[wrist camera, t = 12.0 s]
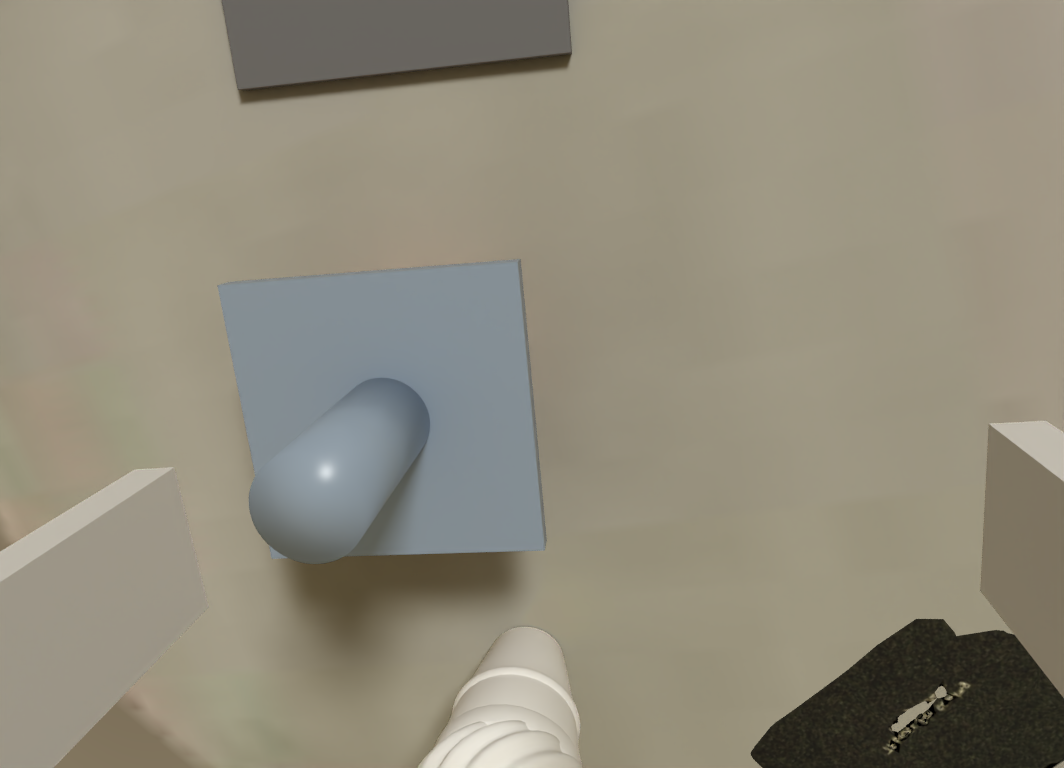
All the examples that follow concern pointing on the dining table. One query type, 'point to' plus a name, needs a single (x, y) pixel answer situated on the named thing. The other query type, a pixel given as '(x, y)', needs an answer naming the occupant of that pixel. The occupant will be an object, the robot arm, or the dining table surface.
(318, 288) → the lid
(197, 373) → the dining table surface
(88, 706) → the robot arm
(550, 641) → the soft serve ice cream cone
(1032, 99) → the dining table surface
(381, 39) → the mat
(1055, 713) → the black flat irregular plate
